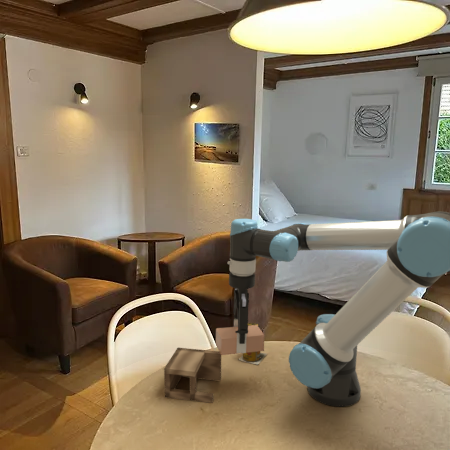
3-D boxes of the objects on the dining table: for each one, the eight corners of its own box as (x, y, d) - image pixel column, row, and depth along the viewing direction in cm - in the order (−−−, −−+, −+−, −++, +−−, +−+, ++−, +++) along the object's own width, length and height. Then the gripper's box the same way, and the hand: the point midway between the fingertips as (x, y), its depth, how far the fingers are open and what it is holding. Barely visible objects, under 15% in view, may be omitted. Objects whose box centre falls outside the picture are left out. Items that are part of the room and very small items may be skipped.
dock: (221, 378, 130) (221, 351, 129) (212, 402, 118) (212, 373, 116) (178, 373, 133) (177, 347, 131) (164, 397, 120) (164, 368, 119)
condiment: (237, 360, 142) (238, 327, 140) (248, 349, 149) (248, 318, 147) (257, 365, 138) (258, 331, 136) (267, 354, 146) (268, 322, 144)
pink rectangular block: (256, 339, 130) (257, 324, 129) (263, 350, 123) (264, 335, 122) (215, 343, 127) (216, 328, 126) (221, 355, 120) (221, 339, 119)
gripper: (226, 262, 130) (224, 330, 135) (232, 284, 110) (230, 363, 115) (250, 262, 131) (247, 330, 135) (260, 284, 111) (257, 363, 115)
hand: (239, 345), depth 125 cm, fingers closed on pink rectangular block, 8 cm apart
